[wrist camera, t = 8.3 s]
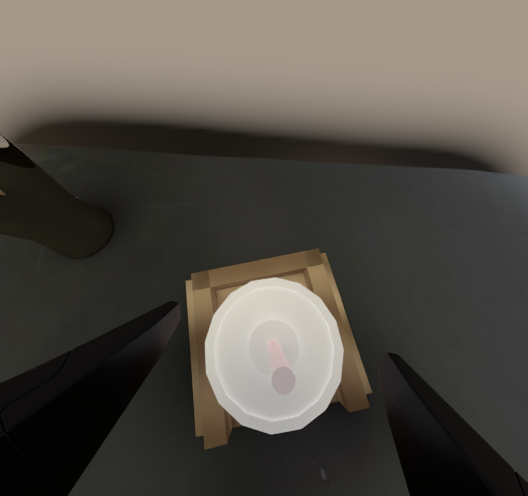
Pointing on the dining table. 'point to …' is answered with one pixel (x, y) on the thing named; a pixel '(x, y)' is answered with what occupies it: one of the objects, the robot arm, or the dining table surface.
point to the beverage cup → (273, 355)
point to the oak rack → (234, 277)
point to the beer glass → (46, 208)
